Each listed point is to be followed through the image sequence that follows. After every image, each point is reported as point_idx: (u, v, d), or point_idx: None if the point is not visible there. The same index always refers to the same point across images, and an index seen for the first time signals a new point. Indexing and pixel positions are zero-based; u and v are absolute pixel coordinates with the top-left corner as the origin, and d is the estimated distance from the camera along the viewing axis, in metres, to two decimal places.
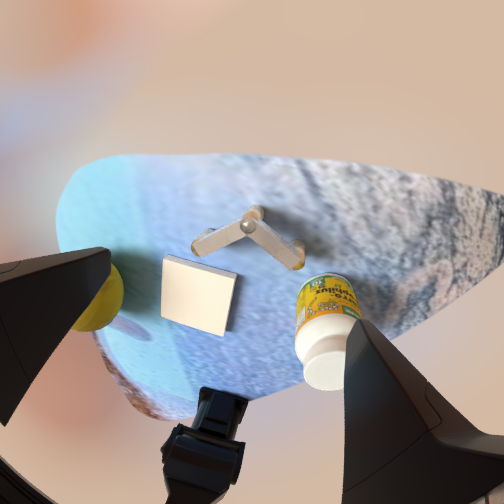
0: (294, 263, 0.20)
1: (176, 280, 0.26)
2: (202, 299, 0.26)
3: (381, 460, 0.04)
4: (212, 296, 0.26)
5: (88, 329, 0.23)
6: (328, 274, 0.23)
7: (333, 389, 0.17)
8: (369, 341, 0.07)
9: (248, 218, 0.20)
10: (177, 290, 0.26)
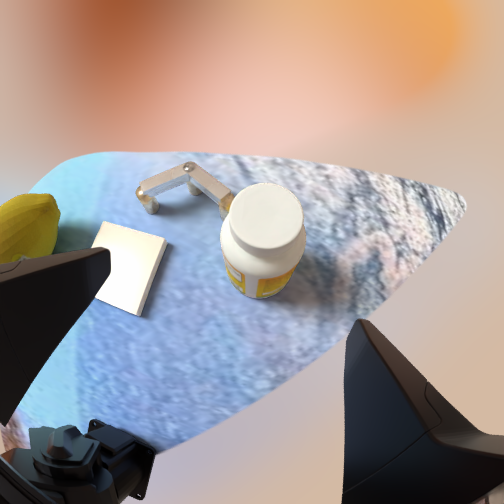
0: (224, 193, 0.22)
1: (107, 242, 0.23)
2: (126, 262, 0.22)
3: (381, 460, 0.04)
4: (137, 258, 0.23)
5: (3, 251, 0.17)
6: None
7: (271, 244, 0.14)
8: (369, 341, 0.07)
9: (191, 162, 0.23)
10: None
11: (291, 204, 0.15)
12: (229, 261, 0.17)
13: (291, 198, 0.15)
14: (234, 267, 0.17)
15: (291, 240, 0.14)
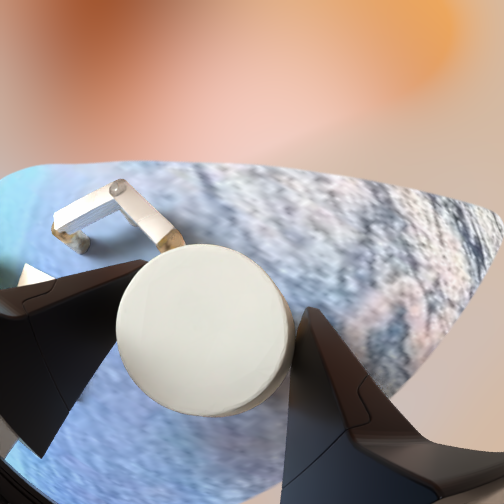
0: (164, 232, 0.13)
1: None
2: None
3: (309, 457, 0.04)
4: None
5: None
6: None
7: (206, 408, 0.05)
8: (310, 328, 0.07)
9: (121, 180, 0.14)
10: None
11: (258, 302, 0.06)
12: None
13: (260, 286, 0.06)
14: None
15: (254, 397, 0.05)
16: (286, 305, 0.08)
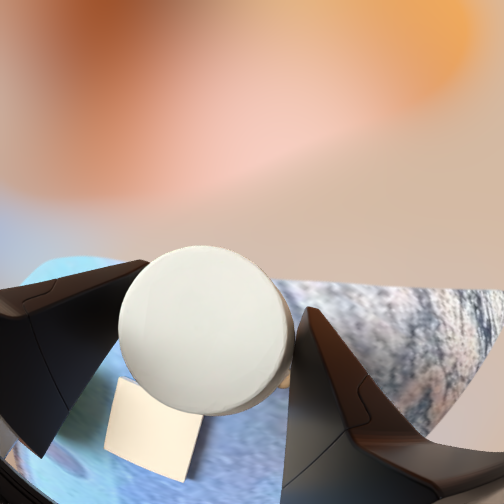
0: None
1: (130, 405, 0.17)
2: (161, 432, 0.16)
3: (309, 457, 0.04)
4: (174, 430, 0.17)
5: None
6: None
7: (207, 406, 0.05)
8: (310, 329, 0.07)
9: None
10: (129, 418, 0.17)
11: (258, 303, 0.06)
12: None
13: (259, 287, 0.06)
14: None
15: (254, 396, 0.05)
16: (285, 305, 0.09)
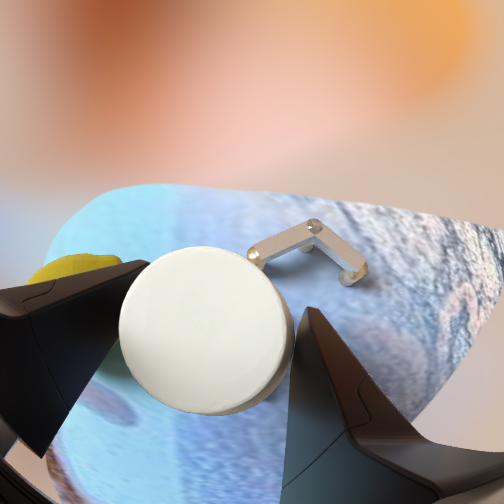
0: (361, 263, 0.19)
1: None
2: None
3: (309, 457, 0.04)
4: None
5: None
6: None
7: (206, 406, 0.05)
8: (310, 328, 0.07)
9: (314, 219, 0.20)
10: None
11: (258, 303, 0.06)
12: None
13: (259, 287, 0.06)
14: None
15: (253, 396, 0.05)
16: (285, 306, 0.09)
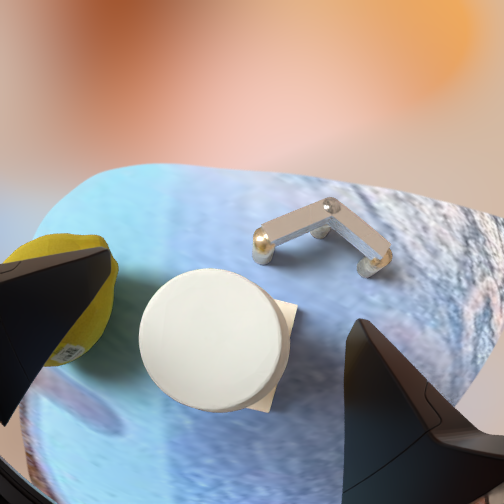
0: (385, 248, 0.16)
1: None
2: None
3: (381, 460, 0.04)
4: None
5: None
6: None
7: (214, 403, 0.06)
8: (369, 341, 0.07)
9: (331, 198, 0.17)
10: None
11: (258, 318, 0.07)
12: None
13: (259, 304, 0.07)
14: None
15: (254, 394, 0.07)
16: (282, 316, 0.10)
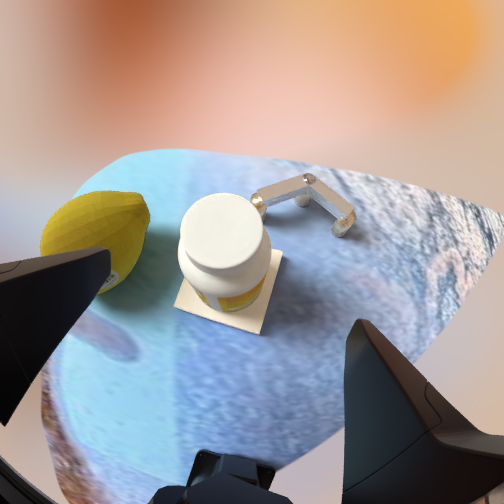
0: (349, 210, 0.22)
1: None
2: None
3: (381, 460, 0.04)
4: None
5: None
6: None
7: (223, 264, 0.12)
8: (369, 341, 0.07)
9: (309, 174, 0.23)
10: None
11: (250, 217, 0.13)
12: (185, 277, 0.15)
13: (250, 210, 0.13)
14: (191, 284, 0.15)
15: (246, 259, 0.13)
16: (266, 233, 0.16)
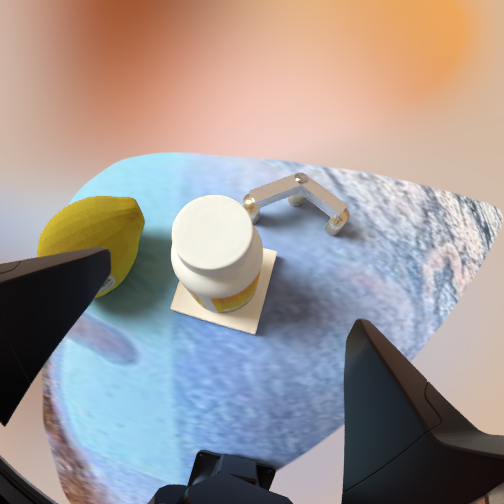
0: (342, 208, 0.22)
1: None
2: None
3: (381, 460, 0.04)
4: None
5: None
6: None
7: (214, 264, 0.13)
8: (369, 341, 0.07)
9: (301, 173, 0.23)
10: None
11: (239, 218, 0.13)
12: (179, 279, 0.15)
13: (240, 211, 0.14)
14: (184, 285, 0.15)
15: (236, 260, 0.13)
16: (257, 233, 0.16)
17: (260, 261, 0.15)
